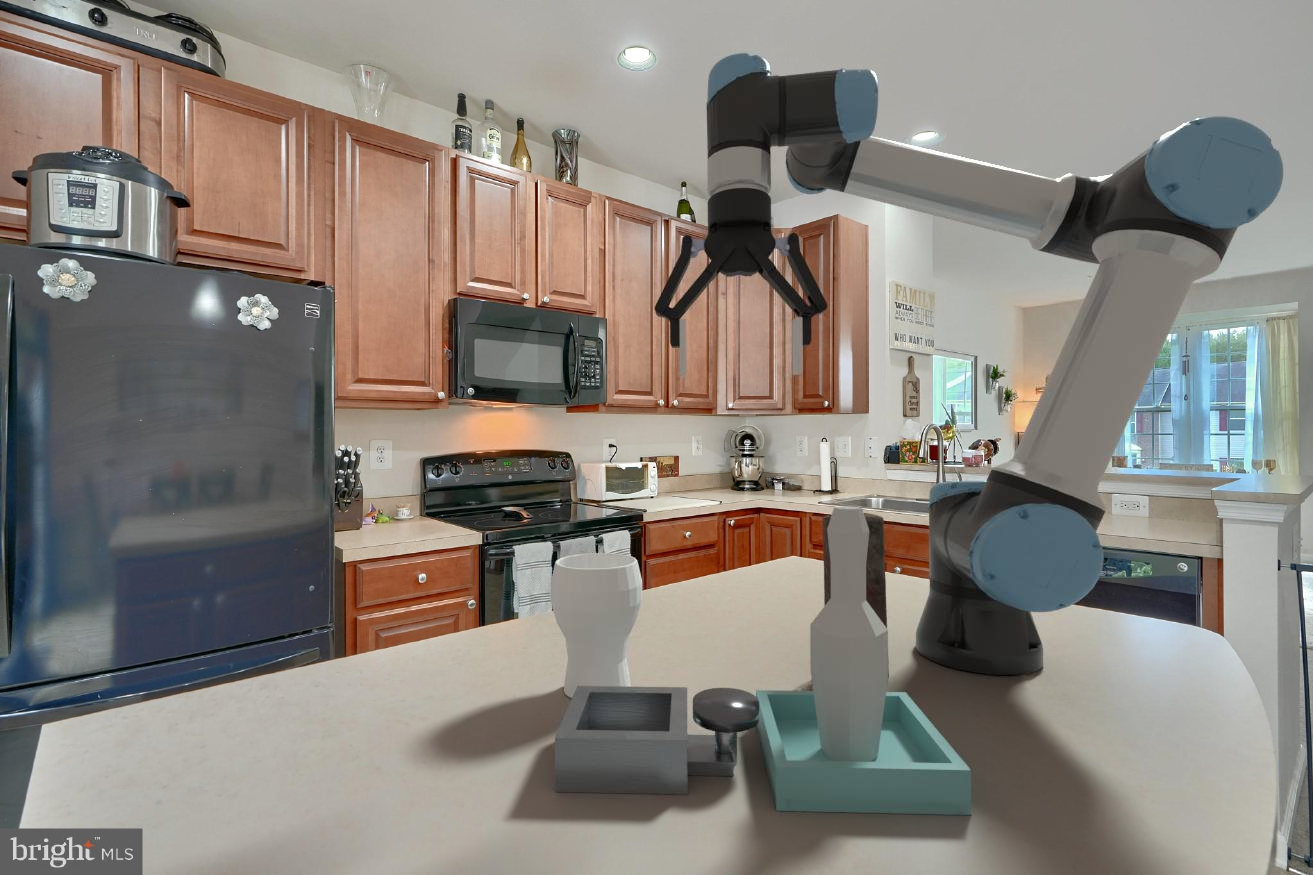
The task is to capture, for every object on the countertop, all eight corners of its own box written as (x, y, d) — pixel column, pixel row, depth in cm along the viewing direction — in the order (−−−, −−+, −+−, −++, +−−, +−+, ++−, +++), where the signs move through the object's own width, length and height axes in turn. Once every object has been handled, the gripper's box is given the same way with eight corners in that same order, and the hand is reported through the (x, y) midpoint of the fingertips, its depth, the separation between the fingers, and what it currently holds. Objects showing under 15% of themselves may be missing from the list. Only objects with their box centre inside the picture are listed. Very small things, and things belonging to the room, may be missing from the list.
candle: (820, 683, 76) (819, 514, 76) (826, 662, 83) (825, 507, 83) (888, 691, 74) (888, 517, 73) (889, 669, 80) (888, 510, 80)
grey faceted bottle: (798, 746, 59) (796, 506, 59) (848, 730, 62) (847, 502, 62) (850, 778, 53) (849, 513, 53) (902, 758, 56) (901, 509, 56)
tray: (905, 726, 65) (905, 692, 65) (971, 815, 50) (971, 770, 50) (756, 724, 66) (755, 690, 66) (776, 810, 51) (776, 766, 51)
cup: (630, 712, 69) (629, 572, 69) (537, 704, 71) (535, 568, 71) (651, 675, 79) (650, 553, 79) (569, 669, 81) (568, 550, 81)
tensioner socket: (753, 733, 64) (752, 678, 64) (766, 796, 53) (766, 729, 53) (577, 730, 64) (577, 675, 64) (555, 791, 53) (554, 725, 53)
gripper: (837, 205, 80) (838, 376, 80) (637, 210, 81) (638, 378, 81) (853, 181, 72) (853, 370, 72) (632, 187, 74) (633, 372, 74)
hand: (740, 374), depth 77 cm, fingers open, 13 cm apart
